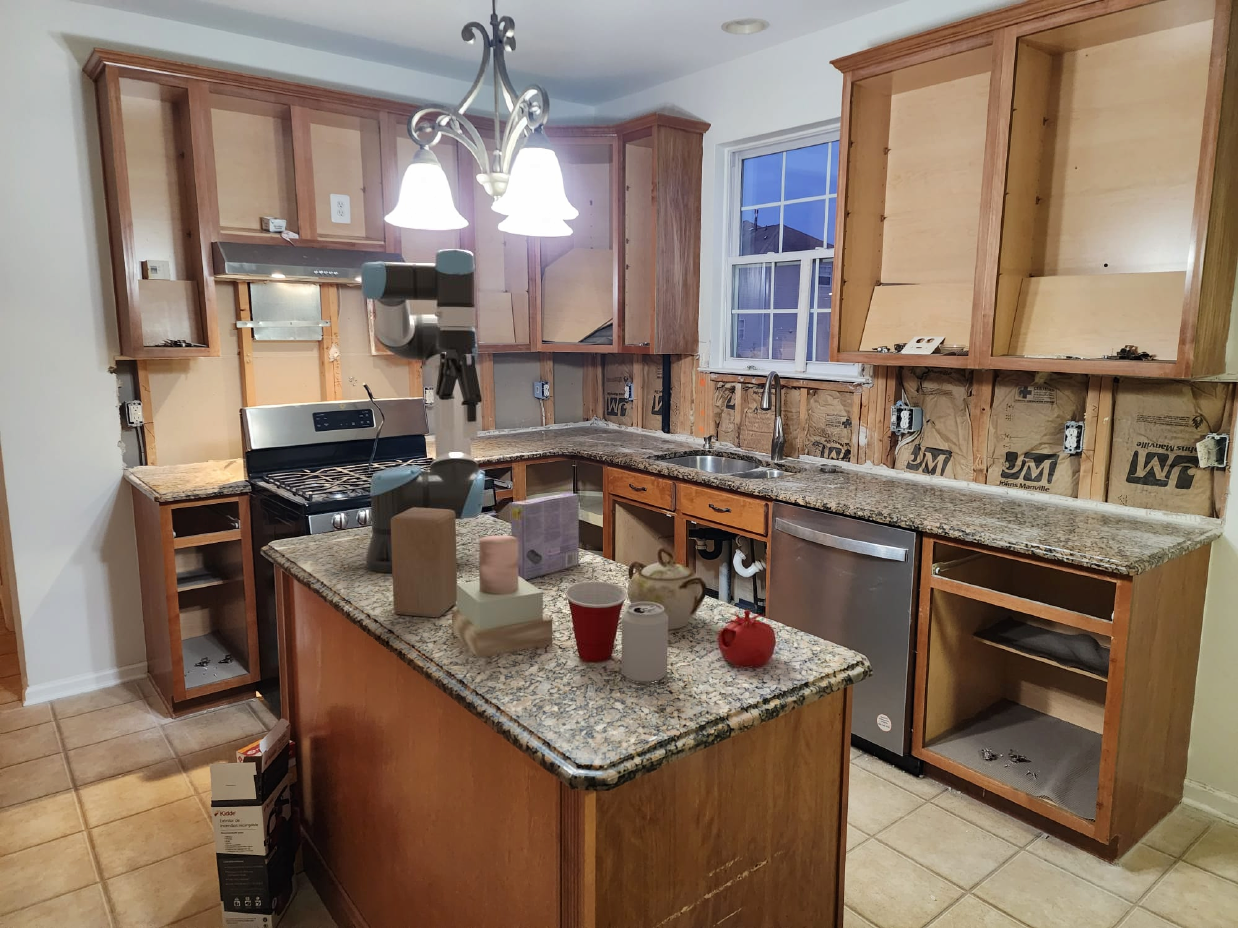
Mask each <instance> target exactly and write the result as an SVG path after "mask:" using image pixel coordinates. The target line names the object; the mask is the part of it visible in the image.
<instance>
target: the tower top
mask: <svg viewBox="0 0 1238 928" xmlns="http://www.w3.org/2000/svg"><path fill="white" fill-rule="evenodd" d="M456 587H457V602H456V608H457V610H458V611H459V612H460V613H461V614H462V615H463V616H465V617H466V618H467V619H468V620H469V621H470V622H471V623H472V624H473V625H474V626H476V627H477V628H478V629H479V630H484V629H490V628H495V627H501V626H506V625H512V624H517V623H522V622H528V621H533V620H539V619H543V613H544V592H543V591H541V589H539V588H537V587H536V586H534V585H533V584H532V583H530V582H528V581H527V580H524V579H522V578H521V577H519V576H518V590H517V591H515V592H512V593H508V594H487V593H484V592H481V591H480V588H479V579H478V580H474V581H465V582H459V583H458V582H457V584H456Z"/></svg>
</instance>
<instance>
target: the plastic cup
mask: <svg viewBox="0 0 1238 928" xmlns="http://www.w3.org/2000/svg"><path fill="white" fill-rule="evenodd" d="M564 595H565V598H566V600H567V603H568V606H569V611H570V615H571V623H572V628H573V635H574V639H575V643H576V651H577V654H578V657H579V659H580V660H582V661H583V662H587V663H594V664H595V663H604V662H607V661H608V660H610V659H611V658H612V655H613V652H614V647H615V646H614V645H615V641H616V638H617V633H618V627H619V621H620V617H621V611H622V608H623V605H624V602H625V601H626V599H627V598H628V593H627V590H626V589H625V588H623V587H622V586H620V585H618V584H615V583H613V582H608V581H597V580H594V581H590V580H589V581H582V582H577V583H573V584H572V585H570V586H568V587H566V589H565V590H564Z"/></svg>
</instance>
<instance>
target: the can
mask: <svg viewBox="0 0 1238 928" xmlns="http://www.w3.org/2000/svg"><path fill="white" fill-rule="evenodd" d="M625 609H626V611H624V613H623V614H622V617H621V618H622V619H621V621H622V622H621V674H622V675H623V676H624V677H625V678H626V679H627V678H628V679H629V680H628V679H627V680H628V681H630V680H631V681H634V682H638V683H652V682H655V681H658V682H660V681H661V680H662V679H664V678H665V677H666V675H667V674H668V648H669V647H668V643H669V640H668V638H669V637H668V636H669V630H668V616H667V614H666V613H665V612H664V609H665V608H664V607H663V606H662V605H660V604H658V603H654V602H635V603H632V604H631V603H630V604H627V606H626V608H625ZM659 680H660V681H659ZM631 681H630V682H631ZM634 682H633V683H634ZM638 683H637V684H638Z"/></svg>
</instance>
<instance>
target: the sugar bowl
mask: <svg viewBox="0 0 1238 928" xmlns="http://www.w3.org/2000/svg"><path fill="white" fill-rule="evenodd" d="M662 553H664V554H665V555H667V557H668V559H669V560H663V557H662V555H663V554H662ZM657 558H658V559H657V560H658V562H655V563H652V564H651V563H650V564H649V565H646V564H645V563H642V562H638V561H633V562H631V563H630V565H629V567H628V572H627V573H628V578H629V582H628V584H627V590H626V592H627V598H628V600H629V602H630V604H632V603H635V602H654V603H658V604H660V605H662V606H663V607H664V608H665V609H664V612H665V613H666V614H667V616H668V631H670V630H671V631H673V630H679V629H682V628H684V627H686V626H687V625H688V623H689V622H690V620H691V619H692V618H694V616H695V614H696V613H697V611H698V610H699V609H700V607H701V606H702V603H703V602H704V600H705V599H706V595H707V592H708V591H707V589H708V588H707V584H706V583H705V581H704V579H703V578H702V577H699V575H697V574H696V573H695V570H693V569H692V568H691V567H688V566H684V565H682V564H678V563H676V562H675V560H674V555H673V554H672V552H671V551H670V550H669V549H668V548H666V547H661V548H659V550H658V551H657ZM634 569H635V570H634Z"/></svg>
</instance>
